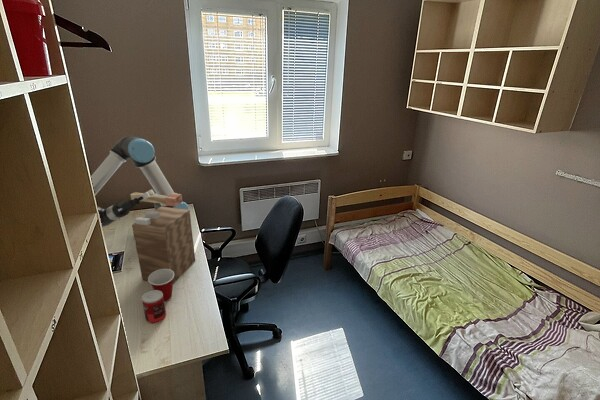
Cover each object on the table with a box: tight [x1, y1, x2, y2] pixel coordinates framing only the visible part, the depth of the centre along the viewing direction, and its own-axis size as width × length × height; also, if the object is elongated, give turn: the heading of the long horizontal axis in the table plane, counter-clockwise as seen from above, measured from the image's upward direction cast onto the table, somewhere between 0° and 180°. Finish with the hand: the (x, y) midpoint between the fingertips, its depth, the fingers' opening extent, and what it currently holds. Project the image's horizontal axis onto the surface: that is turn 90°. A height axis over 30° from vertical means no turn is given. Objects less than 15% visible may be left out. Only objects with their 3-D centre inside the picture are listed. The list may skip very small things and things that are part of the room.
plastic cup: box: [147, 269, 174, 303], centre depth 145 cm, size 11×11×12 cm
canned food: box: [141, 289, 167, 324], centre depth 134 cm, size 8×8×11 cm
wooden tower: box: [131, 207, 196, 285], centre depth 162 cm, size 22×16×30 cm
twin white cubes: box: [134, 210, 160, 226], centre depth 152 cm, size 9×6×2 cm, turn 168°
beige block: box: [129, 191, 184, 207], centre depth 159 cm, size 6×25×4 cm, turn 78°
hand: (150, 193), depth 158 cm, fingers closed on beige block, 3 cm apart
